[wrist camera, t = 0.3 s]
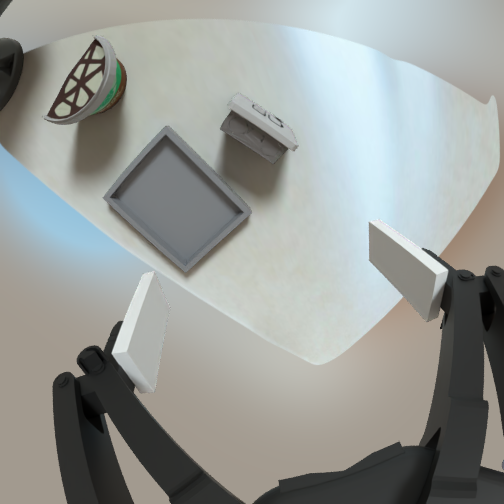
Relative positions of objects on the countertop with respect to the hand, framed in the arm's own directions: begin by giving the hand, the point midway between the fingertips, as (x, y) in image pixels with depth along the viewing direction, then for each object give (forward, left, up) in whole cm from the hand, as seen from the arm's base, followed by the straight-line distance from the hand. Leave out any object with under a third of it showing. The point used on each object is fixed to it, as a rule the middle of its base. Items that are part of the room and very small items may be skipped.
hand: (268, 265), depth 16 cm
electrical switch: (-4, +7, -26) cm, 27 cm away
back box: (-4, -8, -26) cm, 27 cm away
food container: (-23, -4, -26) cm, 35 cm away
